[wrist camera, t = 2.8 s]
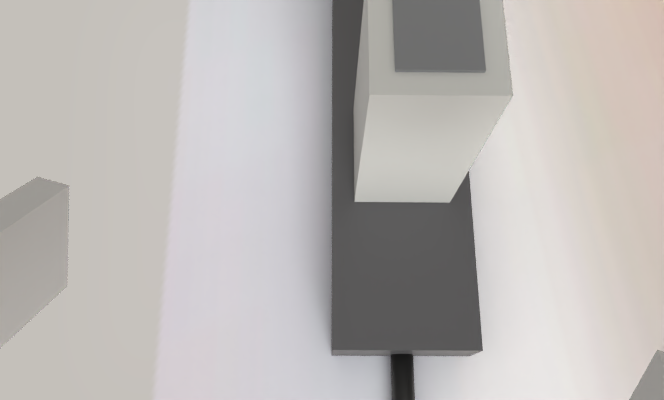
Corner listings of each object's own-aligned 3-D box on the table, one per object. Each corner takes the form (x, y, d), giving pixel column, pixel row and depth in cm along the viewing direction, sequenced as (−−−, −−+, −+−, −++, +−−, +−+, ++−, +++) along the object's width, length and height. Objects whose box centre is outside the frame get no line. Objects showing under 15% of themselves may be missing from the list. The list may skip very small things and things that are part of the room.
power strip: (332, -61, 36) (333, -103, 33) (440, -60, 36) (450, -101, 33) (331, 564, 26) (332, 584, 23) (484, 564, 26) (504, 584, 23)
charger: (351, 126, 32) (367, -37, 20) (436, 127, 32) (500, -36, 20) (352, 214, 30) (369, 92, 19) (442, 215, 30) (514, 93, 19)
